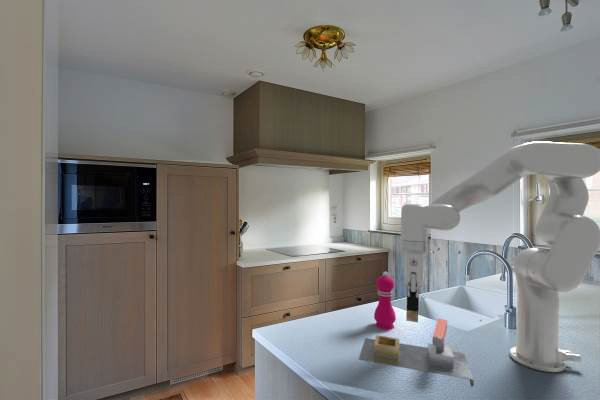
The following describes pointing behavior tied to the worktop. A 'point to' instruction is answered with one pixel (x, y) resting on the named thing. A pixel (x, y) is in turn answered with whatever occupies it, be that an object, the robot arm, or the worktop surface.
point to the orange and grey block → (439, 334)
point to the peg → (412, 314)
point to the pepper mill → (385, 303)
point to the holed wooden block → (386, 347)
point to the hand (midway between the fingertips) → (412, 307)
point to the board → (422, 359)
